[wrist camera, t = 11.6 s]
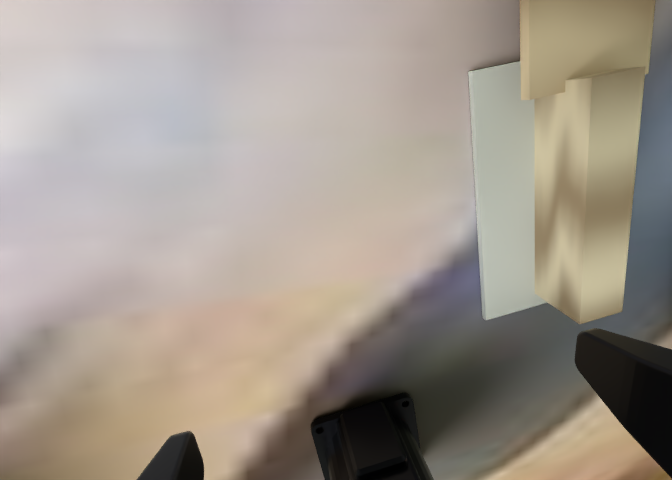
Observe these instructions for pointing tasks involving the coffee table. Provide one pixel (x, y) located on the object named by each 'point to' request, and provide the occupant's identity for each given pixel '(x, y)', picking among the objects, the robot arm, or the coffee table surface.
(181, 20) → the coffee table surface
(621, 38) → the spatula
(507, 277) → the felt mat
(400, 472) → the robot arm
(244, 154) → the coffee table surface
